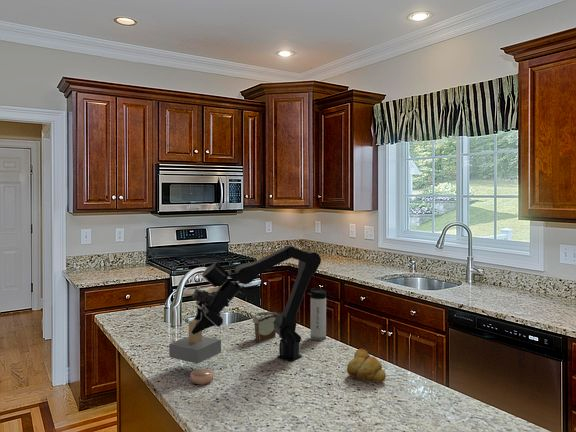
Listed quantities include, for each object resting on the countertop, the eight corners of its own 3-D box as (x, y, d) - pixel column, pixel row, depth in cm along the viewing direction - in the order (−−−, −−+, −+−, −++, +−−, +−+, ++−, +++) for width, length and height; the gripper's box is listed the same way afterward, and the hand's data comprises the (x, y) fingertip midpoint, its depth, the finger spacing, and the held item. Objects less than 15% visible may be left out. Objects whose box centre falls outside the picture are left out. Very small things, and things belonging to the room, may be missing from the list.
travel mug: (317, 334, 196) (317, 286, 194) (329, 337, 191) (329, 289, 190) (306, 337, 191) (306, 289, 190) (318, 341, 186) (319, 291, 185)
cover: (221, 352, 159) (220, 319, 158) (197, 363, 148) (197, 328, 148) (193, 346, 165) (193, 314, 164) (169, 357, 154) (168, 322, 154)
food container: (266, 333, 197) (266, 310, 196) (277, 336, 193) (277, 312, 192) (246, 340, 187) (245, 316, 186) (257, 344, 183) (257, 318, 183)
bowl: (218, 380, 147) (217, 371, 147) (200, 388, 142) (200, 378, 142) (203, 375, 152) (202, 366, 151) (185, 382, 146) (185, 373, 146)
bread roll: (392, 381, 147) (392, 356, 147) (371, 389, 141) (371, 363, 141) (361, 369, 157) (361, 345, 157) (340, 376, 151) (341, 351, 151)
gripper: (201, 275, 165) (170, 309, 162) (212, 285, 148) (177, 323, 144) (223, 295, 168) (193, 329, 165) (237, 308, 151) (203, 345, 148)
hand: (191, 331), depth 155 cm, fingers closed on cover, 4 cm apart
